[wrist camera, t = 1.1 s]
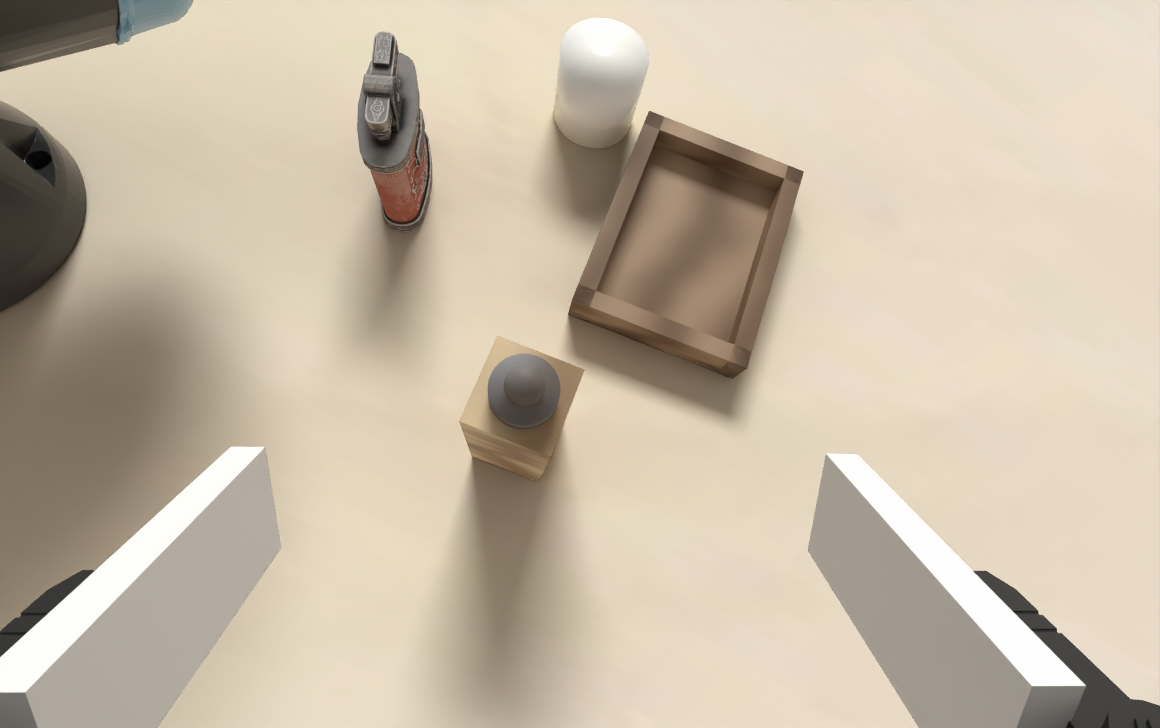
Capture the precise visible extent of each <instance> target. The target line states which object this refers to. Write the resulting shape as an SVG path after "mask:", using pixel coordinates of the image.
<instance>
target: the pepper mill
mask: <svg viewBox="0 0 1160 728" xmlns="http://www.w3.org/2000/svg"><path fill="white" fill-rule="evenodd" d="M583 372H584V369H582V368H579V367H576V366H574V365H571V364H569V363H566V362H564V361H561V360H558V359H556V358H553V357H551V356H548V355H546V354H543V353H541V352H538V351H535V350H533V349H530V348H528V347H525V346H523V345H520V344H517V343H515V342H512V341H510V340H507V339H505V338H502V337H499V336H497V338H496V340H495V342H494V344H493V347H492V349H491V351H490V353H489V356H488V358H487V360H486V362H485V365H484V367H483V369H482V371H481V374H480V376H479V378H478V380H477V383H476V385H475V387H474V389H473V392H472V394H471V396H470V398H469V401H468V403H467V405H466V407H465V410H464V412H463V414H462V416H461V419H460V421H459V422H460V425H461V427H462V430H463V433H464V436H465V439H466V441H467V444H468V447H469V450H470V452H471V455H472V457H474V458H477V459H479V460H482V461H485V462H487V463H490V464H492V465H495V466H497V467H500V468H503V469H505V470H508V471H510V472H513V473H515V474H518V475H521V476H523V477H526V478H528V479H531V480H533V481H536V482H539V480H540V478H541V476H542V474H543V472H544V470H545V468H546V466H547V464H548V462H549V460H550V458H551V456H552V453H553V451H554V448H555V445H556V443H557V440H558V437H559V435H560V432H561V430H562V427H563V424H564V422H565V419H566V417H567V414H568V411H569V409H570V406H571V404H572V401H573V398H574V396H575V393H576V391H577V388H578V385H579V383H580V380H581V378H582V375H583Z"/></svg>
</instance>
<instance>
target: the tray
mask: <svg viewBox="0 0 1160 728" xmlns="http://www.w3.org/2000/svg"><path fill="white" fill-rule="evenodd" d="M803 172H804V171H801V170H798V169H796V168H793V167H791V166H788V165H786V164H783V163H781V162H778V161H776V160H773V159H770V158H768V157H765V156H763V155H760V154H758V153H755V152H753V151H750V150H748V149H745V148H742V147H740V146H737V145H735V144H732V143H730V142H727V141H725V140H722V139H720V138H717V137H714V136H712V135H709V134H707V133H704V132H702V131H699V130H697V129H694V128H692V127H689V126H686V125H684V124H681V123H679V122H676V121H674V120H671V119H669V118H666V117H663V116H661V115H658V114H656V113H653V112H651V111H649V113H648V115H647V117H646V120H645V122H644V125H643V127H642V130H641V132H640V135H639V137H638V140H637V142H636V144H635V147H634V149H633V152H632V154H631V157H630V159H629V162H628V164H627V166H626V169H625V171H624V174H623V176H622V179H621V181H620V184H619V186H618V189H617V191H616V193H615V196H614V198H613V201H612V203H611V206H610V208H609V211H608V213H607V216H606V218H605V220H604V223H603V225H602V228H601V230H600V233H599V235H598V238H597V240H596V242H595V245H594V247H593V250H592V252H591V255H590V257H589V260H588V262H587V265H586V267H585V269H584V272H583V274H582V277H581V279H580V282H579V284H578V287H577V289H576V292H575V294H574V296H573V299H572V302H571V306H570V309H569V313H568V314H569V315H572V316H574V317H577V318H579V319H582V320H584V321H587V322H590V323H592V324H595V325H597V326H600V327H602V328H605V329H607V330H610V331H613V332H615V333H618V334H620V335H623V336H625V337H628V338H631V339H633V340H636V341H638V342H641V343H643V344H646V345H648V346H651V347H654V348H656V349H659V350H661V351H664V352H666V353H669V354H672V355H674V356H677V357H679V358H682V359H684V360H687V361H689V362H692V363H695V364H697V365H700V366H702V367H705V368H707V369H710V370H712V371H715V372H718V373H720V374H723V375H725V376H728V377H730V378H734V377H735V376H737V375H738V374H739V373H741V372H742V371H743V370H745V369H746V368H747V366H748V362H749V359H750V355H751V352H752V348H753V345H754V342H755V338H756V335H757V331H758V328H759V324H760V321H761V317H762V314H763V310H764V307H765V304H766V300H767V297H768V293H769V290H770V286H771V283H772V279H773V276H774V272H775V269H776V266H777V262H778V259H779V255H780V252H781V248H782V245H783V241H784V238H785V235H786V231H787V228H788V224H789V221H790V217H791V214H792V210H793V207H794V203H795V200H796V197H797V193H798V190H799V186H800V183H801V179H802V176H803Z"/></svg>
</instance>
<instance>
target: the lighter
mask: <svg viewBox="0 0 1160 728" xmlns="http://www.w3.org/2000/svg"><path fill="white" fill-rule="evenodd" d="M357 130H358V139H359V148H360V153H361V155H362V158H363V161H364V163H365V165H366V166H367V167H368V168H369V169H370V170H371V173H372V176H373V179H374V182H375V184H376V187H377V190H378V193H379V196H380V198H381V206H382V213H383V216H384V218H385V221H386V224H387V225H388V226H389V227H390V228H392V229H394V230H396V231H400V232H409V231H412V230H415V229H417V228H418V227H419V226H421V224H422V222H423V220H424V217H425V213H426V210H427V207H428V204H429V199H430V193H431V187H432V159H431V152H430V145H429V140H428V136H427V133H426V132H425V124H424V119H423V114H422V110H421V109H420V108H419V90H418V83H417V76H416V70H415V66H414V63H413V61H412V60H411V59H410V58H409V57H408V56H406V55H404V54H402V53H399V51H398V46H397V42H396V37H395V36H394V35H393V34H392V33H389V32H378V33H377V34H376V35H375V38H374V44H373V53H372V61H371V62H370V65H369V68H368V70H367V73H366V74H365V75H364V80H363V85H362V89H361V94H360V99H359V103H358V123H357Z"/></svg>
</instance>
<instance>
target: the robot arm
mask: <svg viewBox="0 0 1160 728" xmlns="http://www.w3.org/2000/svg"><path fill="white" fill-rule="evenodd" d="M192 2H193V0H0V72H2V71H6V70H10V69H14V68H18V67H22V66H26V65H30V64H34V63H38V62H41V61H45V60H49V59H53V58H57V57H61V56H65V55H69V54H73V53H77V52H81V51H85V50H89V49H93V48H97V47H101V46H105V45H109V44H113V43H116V44H117V45H120V44H124V42H128V41H129V40H130V38H131V36H133V35H136V34H139V33H142V32H145V31H148V30H151V29H154V28H157V27H160V26H163V25H166V24H169V23H173V22H176V21H178V20H180V18H181V17H183V16H184V15H185V14H186V13H187V11H188V9H189V8H190V7H191V5H192ZM85 209H86V192H85V186H84V181H83V178H82V175H81V172H80V170H79V168H78V166H77V164H76V162H75V160H74V159H73V157H72V156H71V155H70V153H69V152H68V151H67V150H66V149H65V148H64V147H63V146H62V145H61V144H60V143H59V142H58V141H57V140H56V139H55V138H54V137H53V136H51V135H50V134H49V133H48V132H47V131H46V130H45V129H44V128H43V127H42V126H40V125H39V124H38V123H37V122H36V121H34V120H33V119H32V118H30V117H29V116H27V115H26V114H24V113H23V112H21V111H20V110H18V109H16V108H14V107H13V106H11V105H9V104H6V103H4V102H2V101H0V311H1V310H3V309H5V308H7V307H9V306H11V305H12V304H14V303H16V302H18V301H19V300H21V299H22V298H24V297H25V296H27V295H28V294H30V293H31V292H33V291H34V290H35V289H37V288H38V287H39V286H40V285H41V284H42V283H44V282H45V281H46V280H47V279H48V278H49V277H50V276H51V275H52V274H53V273H54V272H55V271H56V270H57V269H58V267H59V266H60V265H61V264H62V263H63V261H64V260H65V259H66V257H67V256H68V254H69V253H70V251H71V249H72V248H73V246H74V244H75V242H76V240H77V238H78V236H79V233H80V230H81V228H82V224H83V221H84V216H85ZM280 549H281V544H280V538H279V531H278V525H277V519H276V512H275V506H274V500H273V493H272V487H271V481H270V474H269V468H268V462H267V455H266V449H265V447H230V448H229V449H228V450H227V451H226V452H225V453H223V454H222V455H221V456H220V457H219V458H218V459H217V460H216V461H215V462H214V463H212V464H211V465H210V466H209V467H208V468H207V469H206V470H205V471H204V472H203V473H202V474H200V475H199V476H198V477H197V478H196V479H195V480H194V481H193V482H192V483H191V484H189V485H188V486H187V487H186V488H185V489H184V490H183V491H182V492H181V493H180V494H179V495H177V496H176V497H175V498H174V499H173V500H172V501H171V502H170V503H169V504H168V505H166V506H165V507H164V508H163V509H162V510H161V511H160V512H159V513H158V514H157V515H156V516H154V517H153V518H152V519H151V520H150V521H149V522H148V523H147V524H146V525H145V526H143V527H142V528H141V529H140V530H139V531H138V532H137V533H136V534H135V535H134V536H133V537H131V538H130V539H129V540H128V541H127V542H126V543H125V544H124V545H123V546H122V547H120V548H119V549H118V550H117V551H116V552H115V553H114V554H113V555H112V556H111V557H110V558H108V559H107V560H106V561H105V562H104V563H103V564H102V565H101V566H100V567H99V568H97V569H96V570H82V571H80V572H78V573H77V574H75V575H73V576H71V577H70V578H68V579H66V580H64V581H63V582H61V583H59V584H57V585H56V586H54V587H52V588H50V589H49V590H47V591H46V592H45V593H44V594H42V595H41V596H40V597H39V598H38V599H37V600H36V601H34V602H33V603H32V604H31V605H30V606H29V607H27V608H26V609H25V610H24V611H23V612H22V613H21V616H20V618H15V619H14V620H12V621H11V622H10V623H9V624H8V625H7V626H6V627H4V628H3V629H2V630H1V631H0V728H157V727H158V726H159V724H160V723H161V721H162V720H163V718H164V717H165V715H166V714H167V713H168V711H169V710H170V708H171V707H172V705H173V704H174V702H175V701H176V700H177V698H178V697H179V695H180V694H181V692H182V691H183V689H184V688H185V687H186V685H187V684H188V682H189V681H190V679H191V678H192V676H193V675H194V673H195V672H196V671H197V669H198V668H199V666H200V665H201V663H202V662H203V660H204V659H205V658H206V656H207V655H208V653H209V652H210V650H211V649H212V647H213V646H214V645H215V643H216V642H217V640H218V639H219V637H220V636H221V634H222V633H223V631H224V630H225V629H226V627H227V626H228V624H229V623H230V621H231V620H232V618H233V617H234V616H235V614H236V613H237V611H238V610H239V608H240V607H241V605H242V604H243V603H244V601H245V600H246V598H247V597H248V595H249V594H250V592H251V591H252V590H253V588H254V587H255V585H256V584H257V582H258V581H259V579H260V578H261V576H262V575H263V574H264V572H265V571H266V569H267V568H268V566H269V565H270V563H271V562H272V561H273V559H274V558H275V556H276V555H277V553H278V552H279V550H280ZM808 552H809V553H810V555H811V556H812V558H813V560H814V561H815V563H816V564H817V566H818V568H819V569H820V571H821V572H822V574H823V576H824V577H825V579H826V580H827V582H828V584H829V585H830V587H831V588H832V590H833V592H834V593H835V595H836V596H837V598H838V600H839V601H840V603H841V604H842V606H843V608H844V609H845V611H846V612H847V614H848V615H849V617H850V619H851V620H852V622H853V623H854V625H855V627H856V628H857V630H858V631H859V633H860V635H861V636H862V638H863V639H864V641H865V643H866V644H867V646H868V647H869V649H870V651H871V652H872V654H873V655H874V657H875V659H876V660H877V662H878V663H879V665H880V667H881V668H882V670H883V671H884V673H885V674H886V676H887V678H888V679H889V681H890V682H891V684H892V686H893V687H894V689H895V690H896V692H897V694H898V695H899V697H900V698H901V700H902V702H903V703H904V705H905V706H906V708H907V710H908V711H909V713H910V714H911V716H912V718H913V719H914V721H915V722H916V724H917V726H918V727H919V728H1160V706H1159V705H1156V704H1152V703H1149V702H1146V701H1143V700H1133V699H1130V698H1129V697H1128V696H1127V695H1126V694H1125V693H1123V692H1122V691H1121V690H1120V689H1119V688H1118V687H1117V686H1116V685H1115V684H1114V683H1113V682H1112V681H1111V680H1110V679H1109V678H1108V677H1107V676H1106V675H1105V674H1104V673H1103V672H1102V671H1100V670H1099V669H1098V668H1097V667H1096V666H1095V665H1094V664H1093V663H1092V662H1091V661H1090V660H1089V659H1088V658H1087V657H1086V656H1085V655H1084V654H1083V653H1082V652H1081V651H1080V650H1079V649H1078V648H1076V647H1075V646H1074V645H1073V644H1072V643H1071V642H1070V641H1069V640H1068V639H1067V638H1066V637H1065V636H1064V635H1063V634H1062V633H1058V632H1057V628H1056V627H1055V626H1053V625H1052V624H1051V623H1050V622H1049V621H1048V620H1047V619H1046V618H1045V617H1044V616H1043V615H1039V614H1038V610H1037V609H1036V608H1035V607H1034V606H1033V605H1032V604H1031V603H1029V602H1028V601H1027V600H1026V599H1025V598H1024V597H1023V596H1022V595H1021V594H1020V593H1019V592H1018V591H1017V590H1016V589H1014V588H1013V587H1011V586H1010V585H1008V584H1006V583H1005V582H1003V581H1001V580H1000V579H998V578H997V577H995V576H993V575H992V574H990V573H989V572H987V571H972V570H971V569H970V568H969V567H968V566H967V565H966V564H965V563H964V562H963V561H962V560H961V559H960V558H959V557H958V556H957V555H956V554H955V553H954V552H953V551H952V550H951V549H950V547H949V546H948V545H947V544H946V543H945V542H944V541H943V540H942V539H941V538H940V537H939V536H938V535H937V534H936V533H935V532H934V531H933V530H932V529H931V528H930V527H929V526H928V525H927V524H926V523H925V522H924V521H923V520H922V519H921V518H920V517H919V516H918V515H917V514H916V513H915V512H914V511H913V510H912V509H911V508H910V507H909V506H908V505H907V504H906V503H905V502H904V501H903V500H902V499H901V498H900V497H899V496H898V495H897V494H896V493H895V492H894V491H893V490H892V489H891V488H890V487H889V486H888V485H887V484H886V483H885V482H884V481H883V480H882V479H881V478H880V477H879V476H878V475H877V474H876V473H875V472H874V471H873V470H872V469H871V468H870V467H869V466H868V465H867V463H866V462H865V461H864V460H863V459H862V458H861V457H860V456H859V455H858V454H826V456H825V462H824V467H823V472H822V478H821V483H820V488H819V493H818V499H817V504H816V509H815V514H814V520H813V525H812V530H811V536H810V541H809V546H808Z"/></svg>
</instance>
